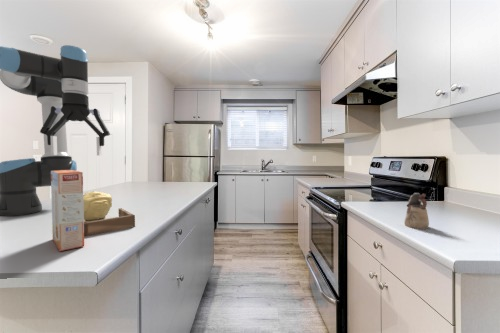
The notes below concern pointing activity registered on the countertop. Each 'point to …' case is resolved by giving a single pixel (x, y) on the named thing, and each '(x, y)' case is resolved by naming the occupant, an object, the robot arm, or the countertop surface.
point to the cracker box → (67, 209)
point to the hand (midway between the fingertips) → (77, 155)
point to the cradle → (110, 223)
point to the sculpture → (96, 205)
